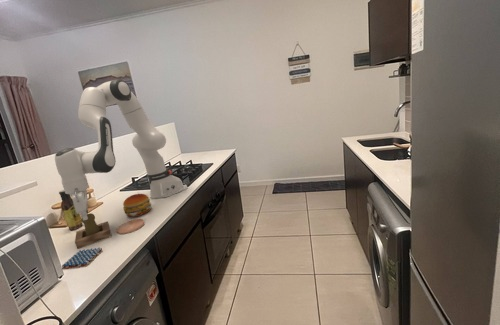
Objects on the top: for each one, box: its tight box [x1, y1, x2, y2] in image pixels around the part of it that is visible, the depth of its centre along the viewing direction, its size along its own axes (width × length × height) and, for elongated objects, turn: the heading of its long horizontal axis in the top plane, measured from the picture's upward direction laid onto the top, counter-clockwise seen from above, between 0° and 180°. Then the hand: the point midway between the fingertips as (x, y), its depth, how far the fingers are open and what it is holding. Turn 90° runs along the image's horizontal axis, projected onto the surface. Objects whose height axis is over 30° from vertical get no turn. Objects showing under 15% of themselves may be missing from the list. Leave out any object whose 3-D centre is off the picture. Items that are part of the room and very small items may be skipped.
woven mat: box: [61, 247, 104, 270], centre depth 99 cm, size 10×11×2 cm
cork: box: [81, 212, 101, 236], centre depth 116 cm, size 6×6×11 cm
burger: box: [122, 193, 152, 218], centre depth 136 cm, size 13×14×10 cm
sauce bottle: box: [58, 189, 83, 231], centre depth 129 cm, size 6×6×20 cm
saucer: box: [116, 218, 145, 235], centre depth 121 cm, size 12×12×1 cm
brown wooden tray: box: [74, 221, 112, 250], centre depth 117 cm, size 13×13×3 cm
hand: (86, 216), depth 114 cm, fingers open, 8 cm apart
